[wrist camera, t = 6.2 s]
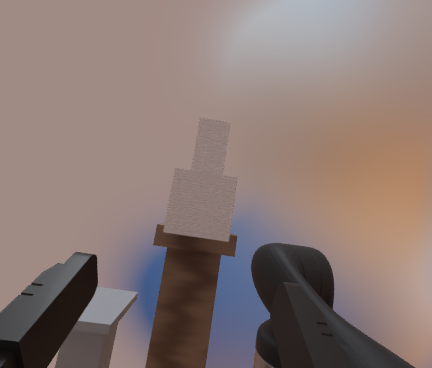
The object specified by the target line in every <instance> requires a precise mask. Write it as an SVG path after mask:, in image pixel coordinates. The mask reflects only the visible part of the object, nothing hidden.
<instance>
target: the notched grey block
mask: <svg viewBox="0 0 432 368" xmlns="http://www.w3.org/2000/svg"><path fill="white" fill-rule="evenodd" d="M229 128H230V123H228V122H222V121H216V120H211V119H204V118H200V121H199V127H198V133H197V139H196V144H195V150H194V156H193V162H192V167H191V170H184V169H178V168H175V171H174V176H173V182H172V187H171V193H170V198H169V204H168V208H167V215H166V219H165V224H164V230H163V232H165V233H172V234H178V235H185V236H192V237H199V238H206V239H212V240H219V241H226V242H229V237H230V229H231V221H232V214H233V206H234V199H235V192H236V185H237V178H234V177H228V176H223V169H224V162H225V155H226V148H227V142H228V135H229Z"/></svg>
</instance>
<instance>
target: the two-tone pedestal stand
mask: <svg viewBox="0 0 432 368" xmlns="http://www.w3.org/2000/svg"><path fill="white" fill-rule="evenodd" d="M164 224H165V223H163V224H157V228H156V233H155V238H154V244H153V245H157V246H164V247H167V252H166V257H165V263H164V269H163V274H162V280H161V285H160V290H159V296H158V301H157V307H156V312H155V318H154V323H153V329H152V334H151V340H150V345H149V351H148V356H147V362H146V367H145V368H205V365H206V359H207V351H208V344H209V337H210V330H211V323H212V322H211V321H212V315H213V308H214V301H215V294H216V287H217V280H218V272H219V265H220V258H221V255H226V256H235V249H236V241H237V236H236V235H234V234H231V233H230V237H229V242H226V241H219V240H212V239H206V238H199V237H192V236H185V235H178V234H172V233H165V232H163V230H164Z"/></svg>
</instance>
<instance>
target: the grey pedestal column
mask: <svg viewBox="0 0 432 368" xmlns="http://www.w3.org/2000/svg"><path fill="white" fill-rule="evenodd" d="M137 295H138V293H137V292H132V291H124V290H116V289H109V288H101V287H97V289H96V292H95V294H94V296H93V298H92V300H91V301H90V303H89V304H88V306H87V307H86V309H85V310H84V312H83V313H82V315H81V316H80V318H79V319H78V321H77V323H76V324H75V326H74V327H73V329H72V330H71V332H70V333H69V335H68V336H67V338H66V339H65V341H64V342H63V344H62V345H61V347H60V350H59V353H58V357H57V361H56V365H55V368H109V363H110V359H111V354H112V349H113V345H114V340H115V335H116V330H117V325H118V322H119V321H120V319H121V318H122V317H123V316H124V314H125V313H126V312H127V310H128V309H129V308H130V307H131V306H132V304H133V303H134V302H135V301H136V299H137Z"/></svg>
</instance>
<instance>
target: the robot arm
mask: <svg viewBox="0 0 432 368" xmlns="http://www.w3.org/2000/svg"><path fill="white" fill-rule="evenodd" d="M251 271H252V277H253V282H254V285H255V288H256V290H257V293H258V295H259V296H260V298H261V300H262V302H263V304H264V305H265V307H266V308H267V310H268V311H269V312H270V318H271V319H269V320H267V321H265V322H264V323H262V324H261V325H260V327H259V329H258V331H257V337H256V347H255V357H254V366H253V368H415V367H413V366H412V365H410V364H409V363H407V362H406V361H404V360H403V359H402V358H400V357H399V356H397V355H395V354H394V353H393V352H391V351H390V350H388V349H386V348H385V347H384V346H382V345H380V344H379V343H377V342H376V341H374V340H373V339H371V338H370V337H368V336H367V335H365V334H364V333H362V332H361V331H360V330H358V329H357V328H355V327H354V326H352V325H351V324H350V323H348V322H347V321H345V320H344V319H343V318H342V317H340V316H339V315H338V314H337V313H336V312H334V311H333V299H334V278H333V273H332V269H331V266H330V264H329V262H328V260H327V259H326V257H325V256H324V255H323V254H322V253H321V252H320V251H318V250H316V249H314V248H310V247H304V246H297V245H289V244H282V243H271V244H266V245H263V246H261V247H260V248H259V249H258V250H257V251H256V252H255V253H254V255H253V259H252V264H251ZM97 275H98V274H97V257H96V255H94V254H87V253H80V252H76V253H74V254H73V255H72V256H71V257H70V258H69V259H68V260H67V261H66V262H65V263H64V264H60V263H58V264H56V265H54V266H53V267H51V268H49V269H47V270H46V271H44V272H43V273H41V274H40V275H39V276H38V278H36V279H35V280H34V281H33V282H32V284H31V285H29V286H28V287H27V288H26V289H25V290H24V291H23V292H22V293H21V295H18V296H17V297H16V298H15V299H14V300H13V301H12V302H11V303H10V304H9V305H8V306H7V307H6V308H5V309H4V310H2V312H1V313H0V368H47V367H48V365H49V364H50V362H51V361H52V359H53V358H54V356H55V355H56V353H57V352H58V350H59V348H60V347H61V345H62V344H63V342H64V341H65V339H66V338H67V336H68V335H69V333H70V332H71V330H72V329H73V327H74V326H75V324H76V323H77V321H78V319H79V318H80V316H81V315H82V313H83V312H84V310H85V309H86V307H87V306H88V304H89V303H90V301H91V300H92V298H93V296H94V294H95V292H96V289H97V284H98V276H97Z"/></svg>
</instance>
